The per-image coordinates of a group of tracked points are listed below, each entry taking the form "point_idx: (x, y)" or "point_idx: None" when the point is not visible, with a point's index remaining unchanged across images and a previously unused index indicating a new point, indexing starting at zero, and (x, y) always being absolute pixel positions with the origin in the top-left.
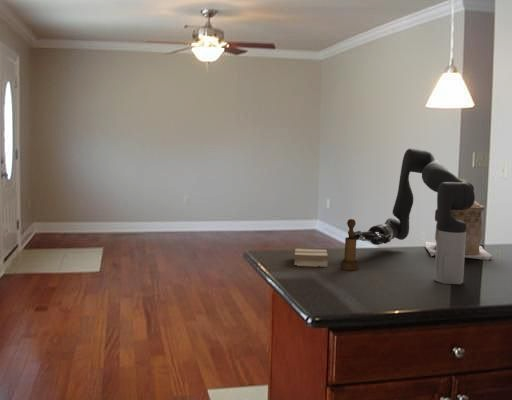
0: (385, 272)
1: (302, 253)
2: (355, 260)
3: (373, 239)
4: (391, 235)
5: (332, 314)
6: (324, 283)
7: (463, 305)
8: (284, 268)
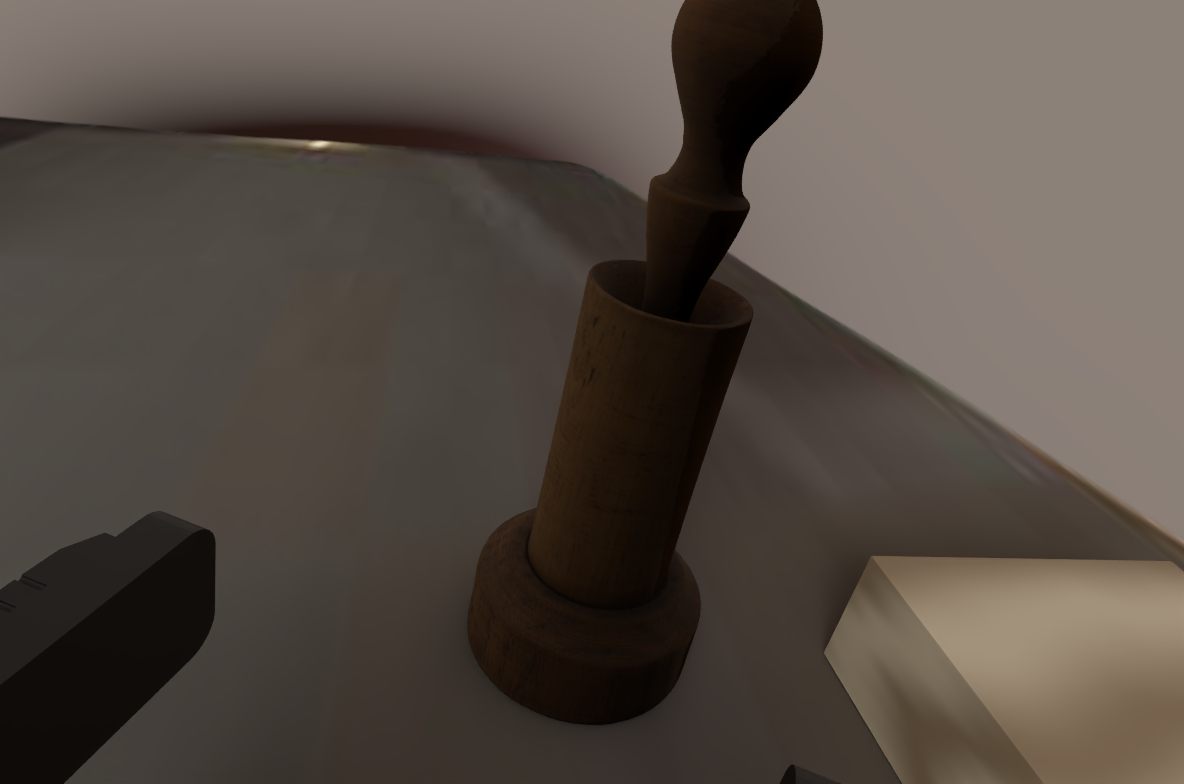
0: None
1: (1181, 626)
2: (528, 566)
3: (205, 539)
4: None
5: (533, 161)
6: None
7: None
8: (1080, 553)
